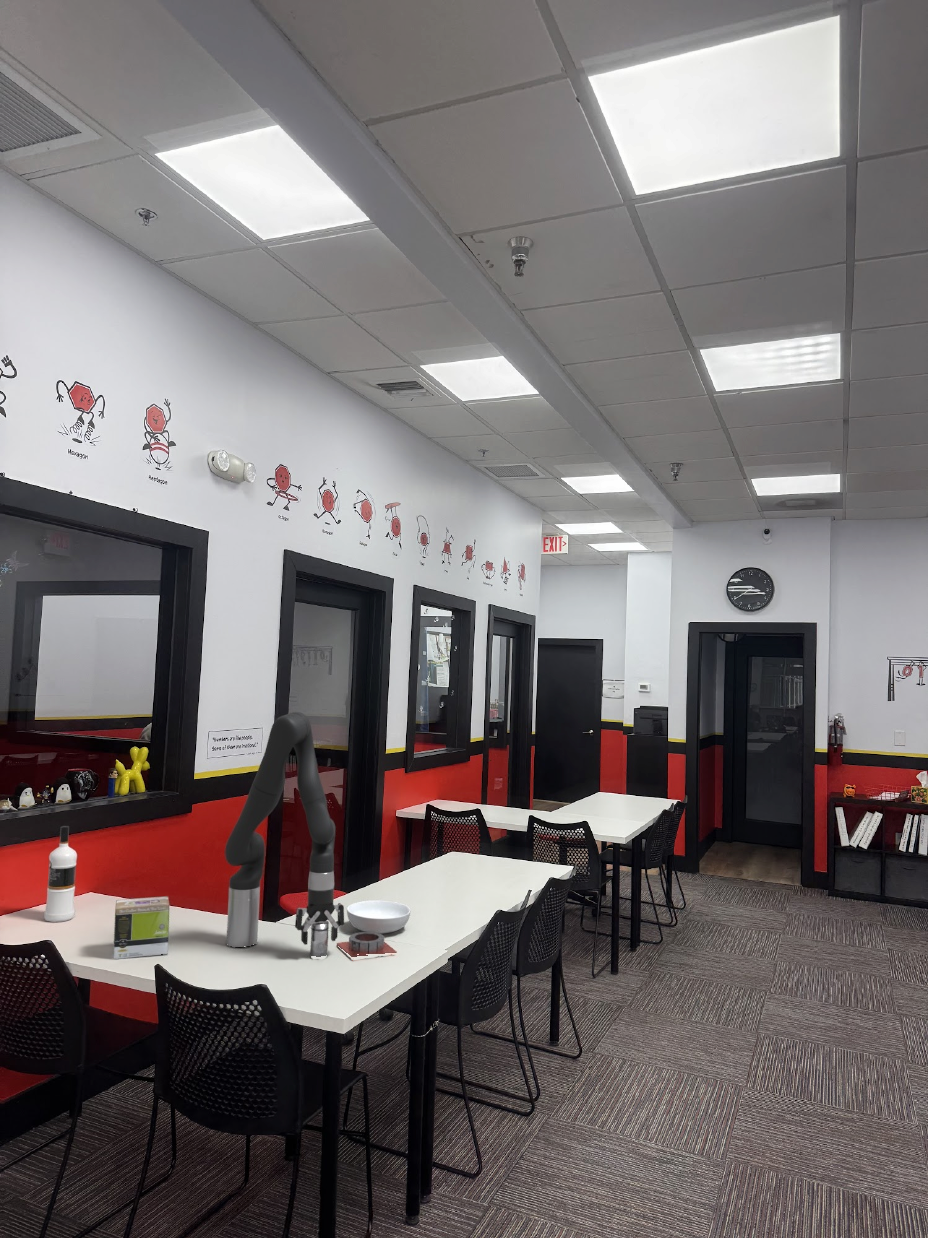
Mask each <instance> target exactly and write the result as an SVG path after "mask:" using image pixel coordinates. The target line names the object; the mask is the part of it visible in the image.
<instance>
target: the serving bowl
mask: <svg viewBox="0 0 928 1238" xmlns="http://www.w3.org/2000/svg"><path fill="white" fill-rule="evenodd" d="M411 912H412V911H411V908H410V907H409V906H408V905H406V904H404V903H401V902H396V901H391V900H379V899H378V900H377V899H376V900H375V899H374V900H363V901H359V902H354V903H351V904H350V905H348V906H347V908H346V914H347V915H346V916H347V919H348V920H349V922H350V924H351V926H353V927H354V928H356V929H357V930H359V931H361V932H375V933H379V934H382V935H384V934H387V933H393V932H396V931H399V930H400V929H402V928H403V927H405V926H406V924H407V923H408V921H409V919H410V916H411Z"/></svg>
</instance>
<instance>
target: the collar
mask: <svg viewBox="0 0 928 1238" xmlns="http://www.w3.org/2000/svg"><path fill="white" fill-rule="evenodd" d="M337 946H339V947H340V948H341V949H343V950H344V951H345V952H346V953H348V954H349V955H350V956H351V957H357V956H368V955H366V954H385V953H398V951H397V950H395V949H394V948H393V947H391V945H389V944H388V943H387V942H385V936H384V934H379V933H375V932H365V931H361V932H354V933H352V934H351V935H349V936H348V941H343V942H336V947H337ZM357 954H359V955H357Z"/></svg>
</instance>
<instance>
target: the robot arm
mask: <svg viewBox="0 0 928 1238" xmlns="http://www.w3.org/2000/svg"><path fill="white" fill-rule="evenodd" d="M309 719H310V718H308V717H307V715H306V714H304V713H303V712H300V711H294V712H290V713H286V714H284V715H281V716H279V717H278V718H276V719H275V721H274V722H273V724H272V726H271V728H270V732H269V736H268V739H267V744H266V747H265V750H264V754H263V756H262V759H261V762H260V764H259V767H258V768H257V772H256V775H255V777H254V779H253V781H252V784H251V787H250V789H249V792H248V795H247V797H246V801H245V803H244V805H243V808H242V809H241V812H240V813H239V814H240V815H239V817H238V819H237V821H236V823H235V825H234V826H233V829H232V831H231V833H230V835H229V836H228V838H227V841H226V844H225V848H224V857H225V861H226V862H227V864H229V865H230V866H232V867H239V866H241V867H240V868H239V869H238V871H236V872H235V873H234V874H233V875H231V876H230V877H229V881H228V882H229V883H228V884H229V885H228V905H227V925H226V928H227V929H226V943H225V944H226V945H227V944H228V945H229V946H228V945H227V946H228V947H230V946H232V947H231V948H235V947H244V946H250V947H252V946H251V945H253V944H256V943H257V944H258V936H259V935H258V932H259V917H260V916H259V915H260V913H259V912H260V894H261V893H260V891H261V880H262V878H263V876H264V865H265V858H266V844H265V839H264V837H263V836H262V835H261V834H260V833H258V832H256V830H257V829H258V827H259V826H260V825H261V824H262V823H263V822H264V820H265V819H266V818H268V816H269V815H270V814H271V813H272V812H273V811H274V809H275V808H276V807H277V805H278V804H279V802H280V799H281V796H282V793H283V791H284V788H285V784H286V774H285V773H286V771H285V767H286V763H287V760H288V757H289V756H290V753H291V751H292V749H294V751H295V755H296V761H297V774H296V775H297V777H296V778H297V779H296V780H297V782H296V783H297V790H298V794H299V797H300V801H301V804H302V807H303V810H304V812H305V816H306V823H307V827H308V831H309V835H310V838H311V840H312V842H311V853H310V857H309V874H308V881H307V882H308V883H307V885H308V886H307V887H308V888H307V906H306V907H305V908H304V907H299V906H298V907H297V908H296V912H295V913H296V915H295V921H294V922H295V923H294V924H295V925H294V928H295V929H296V930H297V931H301V936H300V941H301V942H302V943H303V945H304V946H305V945H308V938H309V937H308V936H309V935H308V929H310V928H311V925H312V924H313V922H320V921H323V922H325V921H328V922H329V924H331V927H330V934H331V935H330V940H331V941H332V942H335V941H336V939H337V938H338V936H339V935H338V929H339V927H341V926H343V925H345V908H344V907H345V906H344V905H343V904H342V903H341V902H338V903H337V904H335V905H334V898H335V896H334V895H335V893H334V892H335V891H334V890H335V874H334V872H335V869H334V868H335V867H334V865H335V855H334V851H335V850H334V849H335V840H336V824H335V822H334V820H333V819H332V818H331V815H330V814H329V811H328V801H327V796H326V794H325V791H324V787H323V785H322V781H321V780H322V779H321V778H320V773H319V769H318V764H317V757H316V752H315V745H314V740H313V739H314V738H313V732H312V725H311V722H310V720H309ZM334 911H335V912H337V921H336V920H335V919H334V917H333V916H332V914H333V912H334ZM305 914H307V917H306V918H305V920H304V922H303V917H304V916H305ZM257 944H256V945H257Z"/></svg>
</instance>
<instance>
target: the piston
mask: <svg viewBox="0 0 928 1238" xmlns="http://www.w3.org/2000/svg"><path fill="white" fill-rule="evenodd" d="M329 924H330V922H329V920H326V921H325V922H323V921H320V922H313V924H312V925H311V926H310V928H311V930H310V949H309V950H310V951H309V953H310V954H309V956H310V955H311V956H316V957H321V956H326V955H327V956H328V948H329V947H328V946H329V945H328V944H329V943H328V942H329V928H330V927H329Z"/></svg>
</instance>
